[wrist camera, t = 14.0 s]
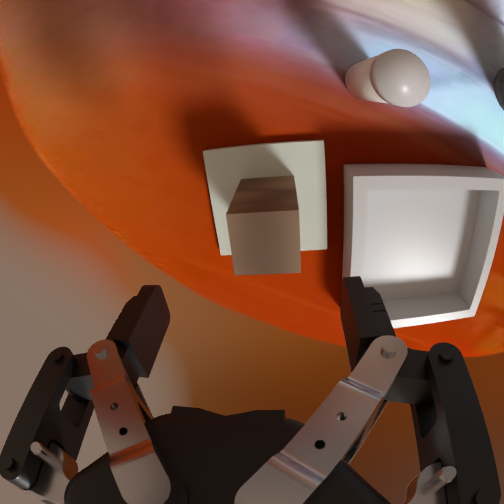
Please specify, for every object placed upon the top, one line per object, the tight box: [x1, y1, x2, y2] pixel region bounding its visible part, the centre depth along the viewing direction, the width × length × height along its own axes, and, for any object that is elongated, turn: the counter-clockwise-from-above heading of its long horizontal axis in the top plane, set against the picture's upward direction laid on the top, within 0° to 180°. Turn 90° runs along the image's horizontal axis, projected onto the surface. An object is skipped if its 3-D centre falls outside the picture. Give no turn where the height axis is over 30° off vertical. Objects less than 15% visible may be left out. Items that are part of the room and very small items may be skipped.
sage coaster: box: [203, 140, 327, 255], centre depth 24 cm, size 9×9×1 cm
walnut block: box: [226, 176, 301, 275], centre depth 21 cm, size 4×4×7 cm
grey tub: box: [341, 164, 504, 328], centre depth 23 cm, size 14×14×4 cm
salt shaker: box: [345, 49, 430, 107], centre depth 15 cm, size 3×3×8 cm
